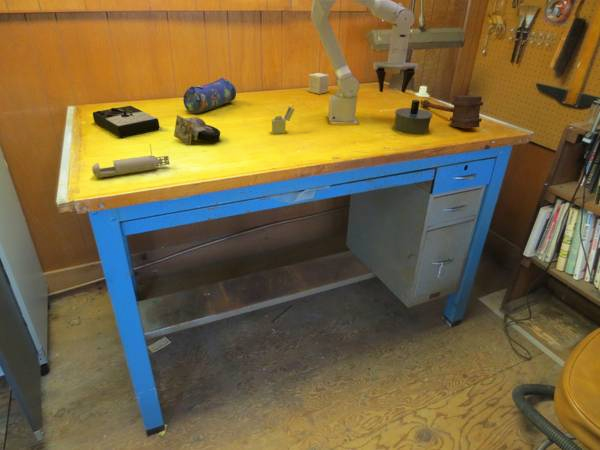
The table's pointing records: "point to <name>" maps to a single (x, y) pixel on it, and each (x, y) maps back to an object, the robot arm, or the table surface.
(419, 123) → the tin
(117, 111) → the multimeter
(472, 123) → the hammer
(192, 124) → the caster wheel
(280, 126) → the lighter
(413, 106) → the lid
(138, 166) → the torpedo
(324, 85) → the product box
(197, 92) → the pencil case
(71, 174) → the table surface
